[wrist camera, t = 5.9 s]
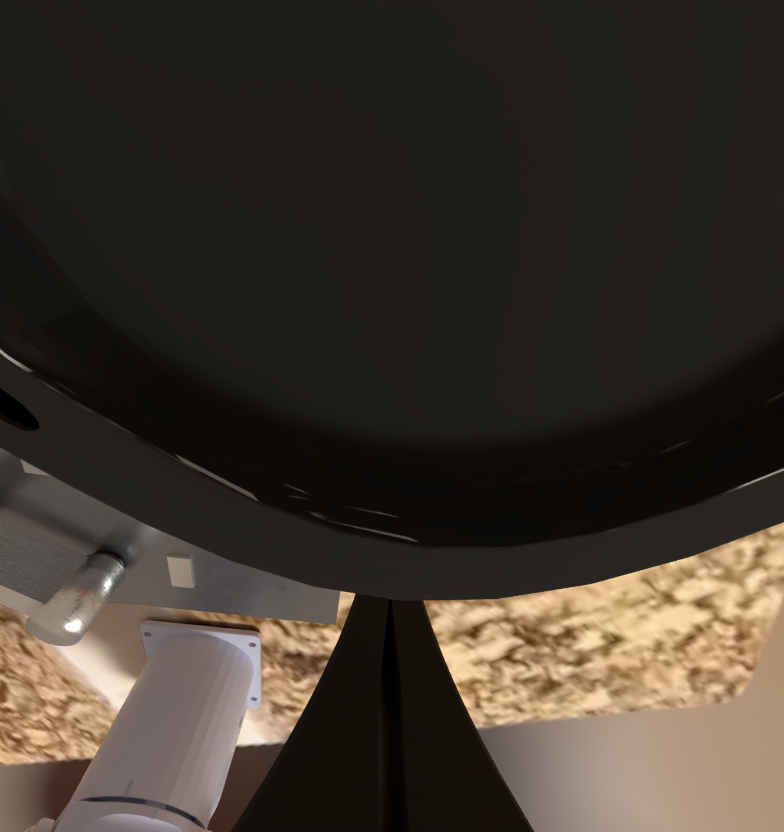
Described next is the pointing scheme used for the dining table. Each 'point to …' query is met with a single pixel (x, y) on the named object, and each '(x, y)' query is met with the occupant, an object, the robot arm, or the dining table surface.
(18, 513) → the panel
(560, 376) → the coffee cup
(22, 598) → the lever
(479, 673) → the dining table surface
